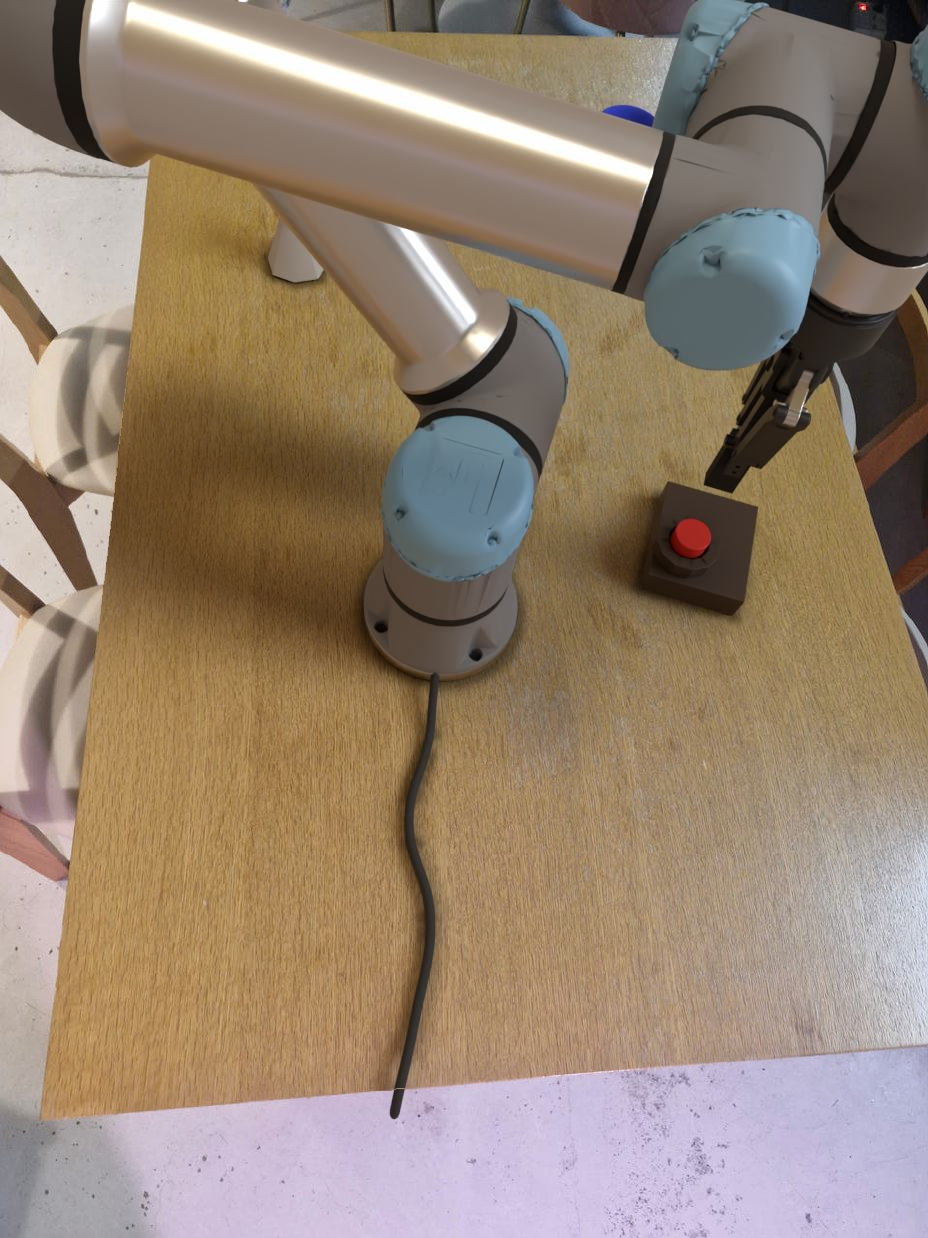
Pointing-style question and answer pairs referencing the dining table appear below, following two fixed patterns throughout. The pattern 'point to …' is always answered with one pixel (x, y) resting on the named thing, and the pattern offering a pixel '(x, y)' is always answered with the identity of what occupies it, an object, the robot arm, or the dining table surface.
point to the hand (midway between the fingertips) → (719, 482)
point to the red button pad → (719, 567)
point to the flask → (291, 257)
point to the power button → (690, 538)
